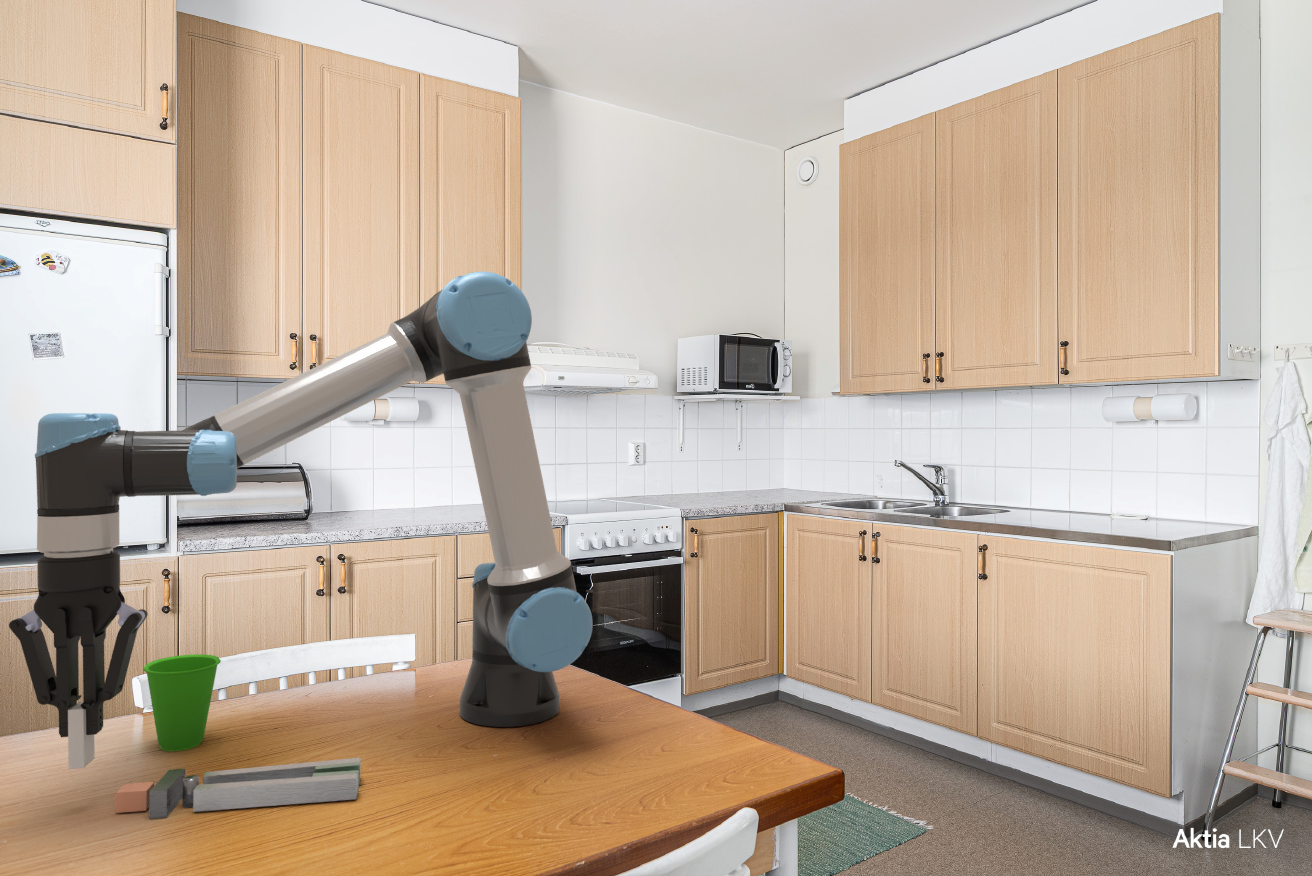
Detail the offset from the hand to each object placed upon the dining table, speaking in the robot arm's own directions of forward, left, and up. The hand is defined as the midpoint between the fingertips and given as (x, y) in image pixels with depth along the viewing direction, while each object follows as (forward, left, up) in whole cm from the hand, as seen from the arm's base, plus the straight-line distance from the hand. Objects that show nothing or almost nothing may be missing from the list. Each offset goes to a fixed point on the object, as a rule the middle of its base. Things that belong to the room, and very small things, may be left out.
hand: (81, 763), depth 92 cm
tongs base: (-19, +1, -5) cm, 20 cm away
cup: (-4, -19, -5) cm, 20 cm away
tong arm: (-21, -1, -5) cm, 21 cm away
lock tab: (-6, +1, -5) cm, 8 cm away
